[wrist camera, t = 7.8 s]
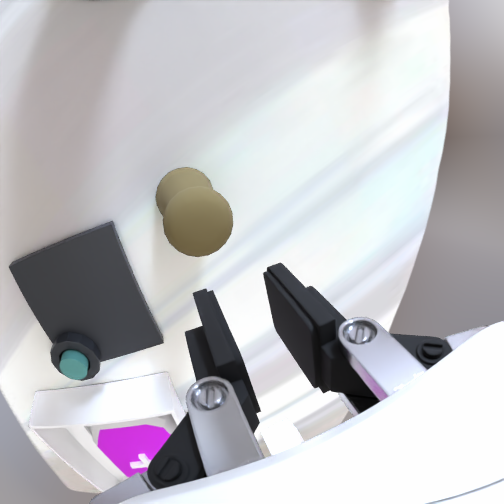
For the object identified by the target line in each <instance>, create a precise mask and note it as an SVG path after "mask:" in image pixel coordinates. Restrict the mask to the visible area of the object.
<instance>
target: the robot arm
mask: <svg viewBox="0 0 504 504" xmlns="http://www.w3.org/2000/svg"><path fill="white" fill-rule="evenodd" d="M263 275H264V280H265V285H266V290H267V294H268V299H269V304H270V309H271V314H272V318H273V323H274V327H275V329H276V331H277V333H278V335H279V336H280V338H281V339H282V341H283V342H284V344H285V345H286V347H287V348H288V350H289V351H290V353H291V354H292V356H293V357H294V359H295V360H296V362H297V363H298V365H299V366H300V368H301V369H302V371H303V372H304V374H305V375H306V377H307V378H308V380H309V381H310V383H311V384H312V386H313V387H314V388H317V387H319V388H320V389H321V391H322V392H323V393H325V392H327V391H329V390H331V391H332V392H338V394H339V396H340V398H341V400H342V401H343V402H344V404H345V405H346V407H347V408H348V409H349V411H350V412H351V413H352V415H353V416H354V417H353V418H351V419H350V420H348V421H346V422H344V423H342V424H340V425H338V426H336V427H334V428H332V429H330V430H328V431H326V432H324V433H322V434H320V435H318V436H316V437H314V438H312V439H310V440H307V441H305V442H303V443H301V444H298V445H296V446H294V447H292V448H289V449H287V450H284V451H282V452H279V453H277V454H274V455H272V456H269V457H267V458H265V457H264V455H263V453H262V451H261V449H260V447H259V444H258V442H257V440H256V438H255V436H254V432H255V430H256V428H257V427H258V425H259V423H260V422H259V420H258V417H257V414H256V413H258V412H261V410H260V407H259V404H258V401H257V399H256V396H255V393H254V390H253V387H252V384H251V381H250V379H249V376H248V373H247V370H246V367H245V364H244V361H243V359H242V356H241V354H240V351H239V349H238V347H237V345H236V342H235V340H234V338H233V336H232V333H231V331H230V329H229V327H228V324H227V322H226V320H225V318H224V315H223V313H222V311H221V308H220V306H219V304H218V301H217V299H216V297H215V294H214V292H213V290H212V291H209V292H207V289H203V290H200V291H197V292H194V293H193V296H194V299H195V303H196V306H197V309H198V312H199V316H200V319H201V322H202V325H203V326H201V327H198V328H195V329H192V330H189V331H186V332H185V336H186V341H187V345H188V349H189V353H190V357H191V362H192V365H193V369H194V373H195V377H196V381H197V382H195V383H194V384H193V385H192V386H191V387H190V388H189V390H188V392H187V395H186V404H187V408H188V412H187V414H186V415H185V416H184V418H183V419H182V421H181V422H180V423H179V425H178V426H177V427H176V429H175V430H174V431H173V433H172V434H171V435H170V437H169V438H168V439H167V441H166V442H165V443H164V444H163V446H162V447H161V448H160V450H159V451H158V452H157V454H156V455H155V456H154V458H153V459H152V460H151V462H150V464H149V466H148V470H147V471H145V472H144V473H142V474H140V473H139V472H138V473H136V474H134V475H133V476H131V477H129V478H128V479H126V480H124V481H122V482H121V483H119V484H117V485H115V486H113V487H112V488H110V489H108V490H106V491H104V492H102V493H100V494H99V495H97V496H95V497H94V498H93V499H91V501H90V503H89V504H504V321H502V322H499V323H496V324H493V325H491V326H481V327H478V328H474V329H471V330H467V331H464V332H461V333H457V334H454V335H450V336H446V337H445V339H444V340H442V339H440V338H437V337H430V336H415V335H401V334H389V333H388V332H387V331H386V330H385V329H384V328H383V327H382V326H381V325H380V324H378V323H377V322H376V321H374V320H373V319H370V318H367V317H355V318H351V319H348V320H346V319H345V318H344V317H343V316H342V315H341V314H340V313H339V312H338V311H337V310H336V309H335V308H334V307H333V306H332V305H331V304H330V303H329V302H328V301H327V300H326V299H325V298H324V297H323V296H322V295H321V294H320V293H319V292H318V291H317V290H316V289H315V288H314V287H312V286H309V287H307V288H305V287H304V285H303V284H302V283H301V282H300V281H299V280H298V279H297V278H296V277H295V276H294V275H293V274H292V273H291V272H290V271H289V270H288V269H287V268H286V267H285V266H284V265H283V264H282V263H278V264H275V265H272V266H270V267H267V272H264V273H263Z"/></svg>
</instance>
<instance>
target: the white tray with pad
mask: <svg viewBox="0 0 504 504" xmlns="http://www.w3.org/2000/svg"><path fill="white" fill-rule="evenodd" d="M185 415H186V414H185V412H184V410H183V407H182V405H181V403H180V401H179V398H178V396H177V394H176V392H175V389H174V387H173V384H172V382H171V380H170V377H169V375H168V372H163V373H159V374H154V375H149V376H143V377H138V378H133V379H127V380H121V381H115V382H109V383H103V384H96V385H89V386H81V387H73V388H65V389H56V390H45V391H36V393H35V397H34V401H33V405H32V410H31V415H30V420H29V425H28V427H29V428H30V429H31V430H32V431H33V432H34V433H35V434H36V435H37V436H38V437H39V438H40V439H41V440H42V441H43V442H44V443H45V444H46V445H47V446H48V447H49V448H50V449H51V450H52V451H53V452H54V453H55V454H56V455H57V456H58V457H60V458H61V459H62V460H63V461H64V462H65V463H66V464H67V465H69V466H70V467H71V468H72V469H73V470H74V471H76V472H77V473H78V474H79V475H81V476H82V477H83V478H84V479H86V480H87V481H88V482H89V483H91V484H92V485H93V486H95V487H96V488H97V489H99V490H100V491H101V492H104V491H106V490H108V489H110V488H112V487H113V486H115V485H117V484H119V483H121V482H122V481H124V480H126V479H128V478H129V477H131V476H133V475H134V474H136V473H138V472H139V473H140V474H142V473H144V472H145V471H147V470H148V466H149V464H150V462H151V460H152V459H153V458H154V456H155V455H156V454H157V452H158V451H159V450H160V448H161V447H162V446H163V444H164V443H165V442H166V441H167V439H168V438H169V437H170V435H171V434H172V433H173V431H174V430H175V429H176V427H177V426H178V425H179V423H180V422H181V421H182V419H183V418H184V416H185Z"/></svg>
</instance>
